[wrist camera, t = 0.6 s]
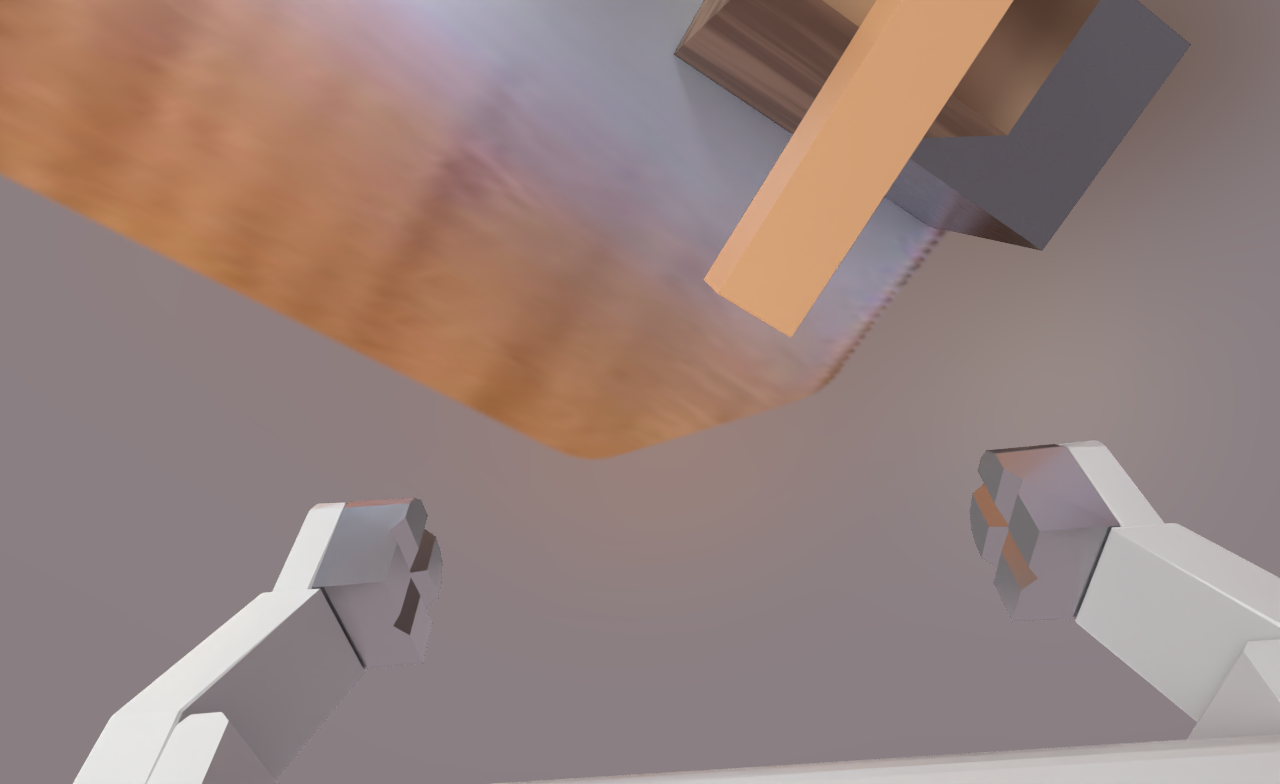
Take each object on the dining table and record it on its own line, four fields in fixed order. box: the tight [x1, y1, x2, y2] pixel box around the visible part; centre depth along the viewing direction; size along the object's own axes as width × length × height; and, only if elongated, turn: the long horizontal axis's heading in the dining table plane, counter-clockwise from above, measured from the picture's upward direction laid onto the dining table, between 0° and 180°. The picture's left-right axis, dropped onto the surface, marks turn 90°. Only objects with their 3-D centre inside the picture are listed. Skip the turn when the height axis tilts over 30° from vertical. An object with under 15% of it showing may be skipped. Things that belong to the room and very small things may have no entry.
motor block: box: [885, 0, 1191, 250], centre depth 46 cm, size 12×10×14 cm
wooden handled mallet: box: [704, 0, 1013, 338], centre depth 24 cm, size 21×6×5 cm, turn 149°
